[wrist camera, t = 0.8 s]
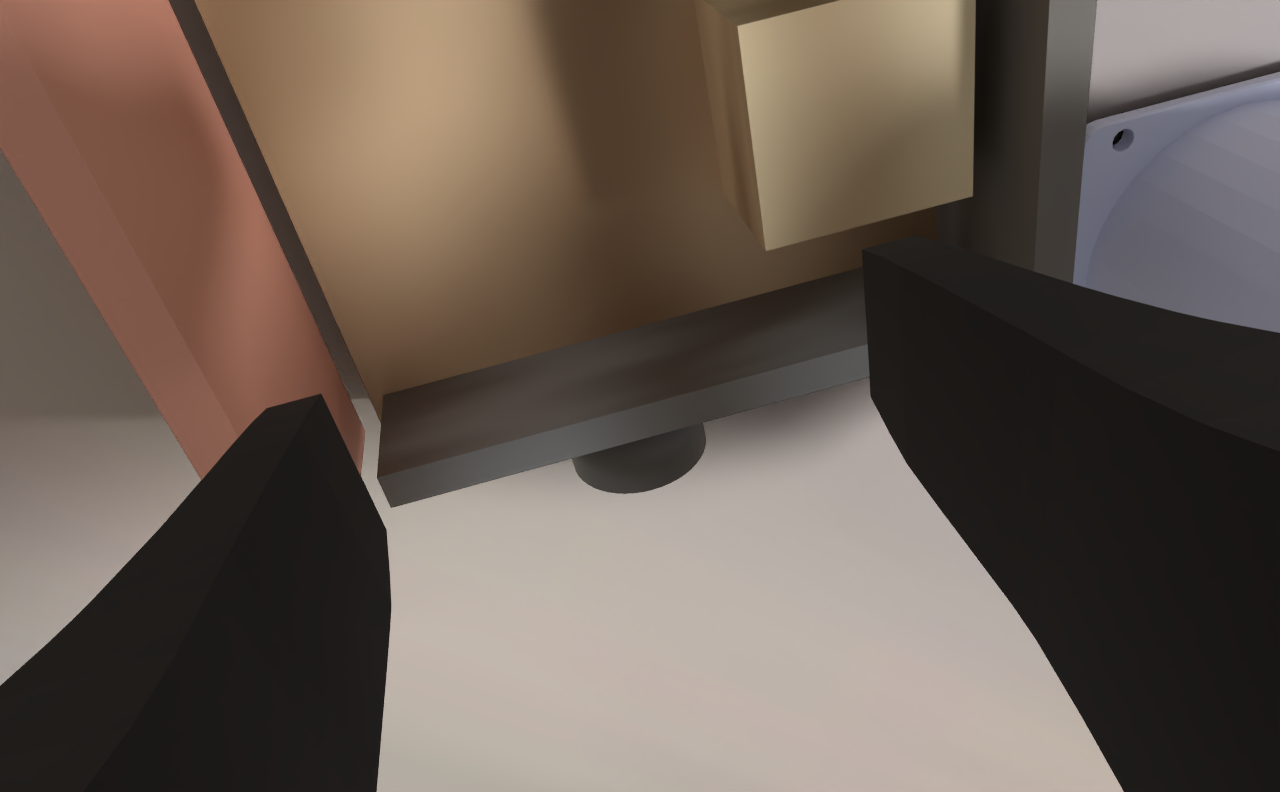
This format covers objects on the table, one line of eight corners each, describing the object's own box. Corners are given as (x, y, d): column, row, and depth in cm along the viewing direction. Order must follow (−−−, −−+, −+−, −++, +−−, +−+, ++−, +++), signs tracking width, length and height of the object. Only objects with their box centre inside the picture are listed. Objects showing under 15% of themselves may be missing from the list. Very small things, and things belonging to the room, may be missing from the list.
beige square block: (898, -59, 17) (976, -35, 15) (904, 145, 20) (972, 196, 17) (692, -7, 17) (737, 26, 15) (723, 192, 19) (765, 251, 17)
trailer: (943, -466, 15) (1145, -567, 11) (946, 327, 24) (1059, 444, 20) (96, -273, 15) (-44, -300, 10) (416, 472, 23) (413, 625, 19)
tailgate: (123, -97, 15) (-30, -43, 10) (365, 431, 21) (344, 629, 16) (74, -85, 15) (-105, -25, 10) (330, 441, 21) (299, 642, 16)
